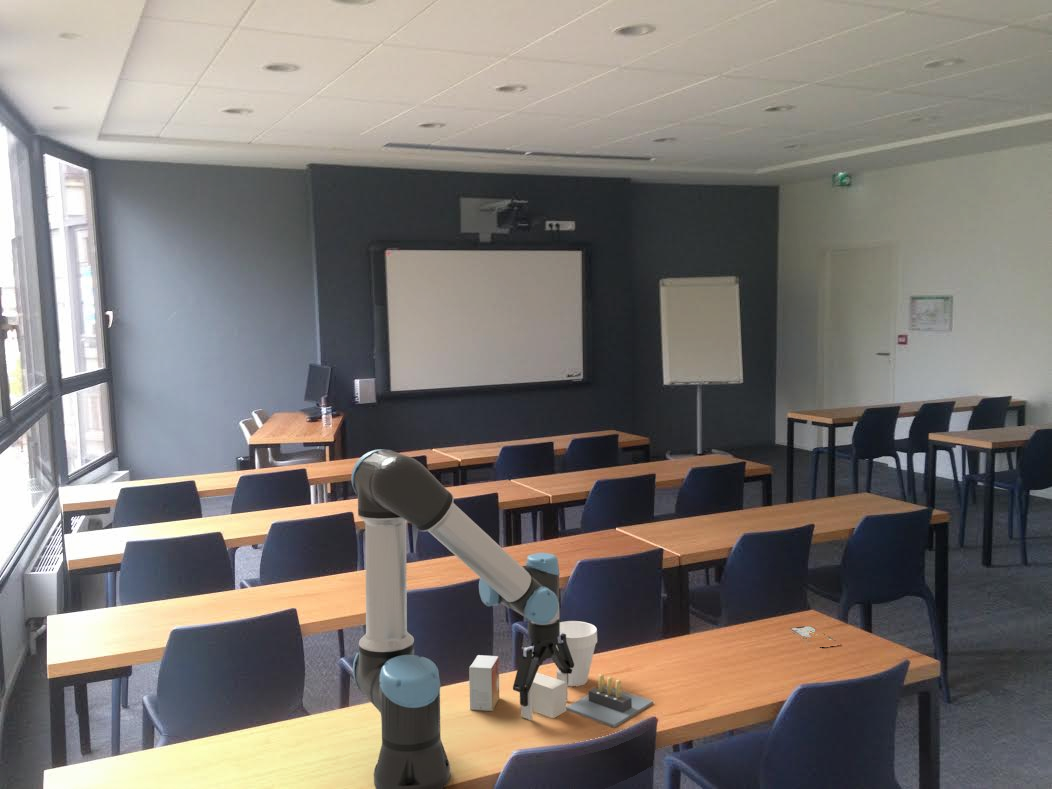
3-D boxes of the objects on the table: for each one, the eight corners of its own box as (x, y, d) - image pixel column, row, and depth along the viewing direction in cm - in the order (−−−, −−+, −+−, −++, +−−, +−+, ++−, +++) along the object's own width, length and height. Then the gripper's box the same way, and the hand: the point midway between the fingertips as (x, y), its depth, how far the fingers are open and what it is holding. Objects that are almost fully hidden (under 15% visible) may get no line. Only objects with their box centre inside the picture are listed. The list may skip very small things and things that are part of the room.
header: (614, 727, 187) (613, 697, 187) (565, 709, 196) (565, 680, 196) (653, 703, 199) (653, 675, 199) (605, 687, 208) (605, 660, 208)
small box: (492, 712, 196) (491, 668, 195) (469, 710, 197) (468, 667, 196) (500, 697, 204) (499, 655, 203) (478, 695, 205) (477, 654, 204)
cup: (606, 686, 209) (605, 633, 208) (561, 694, 205) (561, 640, 204) (585, 668, 221) (584, 618, 220) (542, 675, 216) (541, 624, 215)
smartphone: (819, 647, 232) (788, 628, 247) (819, 651, 232) (788, 631, 247) (842, 644, 234) (810, 625, 249) (842, 648, 234) (809, 629, 249)
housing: (552, 718, 192) (552, 689, 192) (523, 707, 198) (523, 678, 198) (566, 710, 196) (565, 682, 195) (537, 700, 202) (537, 672, 201)
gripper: (520, 638, 184) (522, 731, 185) (588, 609, 202) (588, 695, 204) (496, 630, 189) (498, 721, 190) (564, 603, 207) (565, 687, 209)
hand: (545, 708), depth 197 cm, fingers open, 12 cm apart
